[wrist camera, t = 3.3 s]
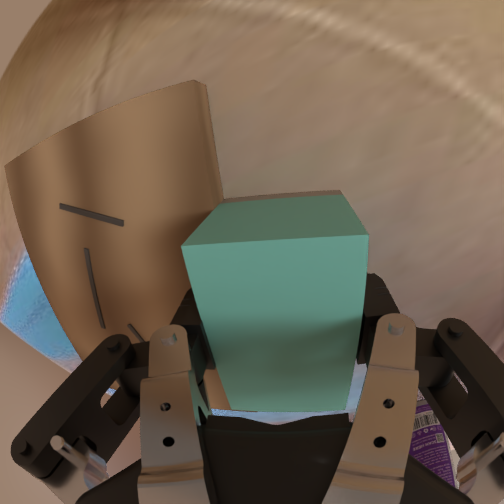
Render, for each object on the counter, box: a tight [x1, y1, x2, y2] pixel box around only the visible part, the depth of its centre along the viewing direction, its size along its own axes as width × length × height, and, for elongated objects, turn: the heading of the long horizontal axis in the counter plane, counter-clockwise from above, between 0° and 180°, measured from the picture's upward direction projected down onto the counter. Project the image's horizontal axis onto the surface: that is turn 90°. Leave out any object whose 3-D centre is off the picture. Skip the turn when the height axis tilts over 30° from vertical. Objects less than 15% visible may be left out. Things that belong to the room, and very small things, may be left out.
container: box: [409, 400, 458, 489], centre depth 10 cm, size 5×5×15 cm
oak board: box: [5, 80, 257, 412], centre depth 14 cm, size 14×19×2 cm
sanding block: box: [181, 190, 369, 412], centre depth 11 cm, size 5×8×5 cm, turn 8°
